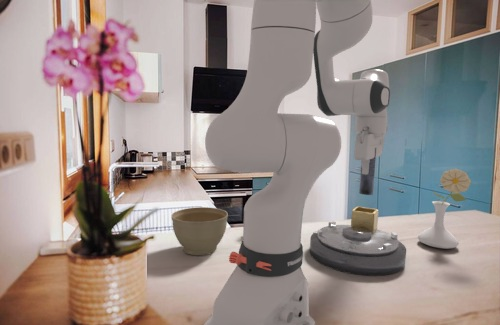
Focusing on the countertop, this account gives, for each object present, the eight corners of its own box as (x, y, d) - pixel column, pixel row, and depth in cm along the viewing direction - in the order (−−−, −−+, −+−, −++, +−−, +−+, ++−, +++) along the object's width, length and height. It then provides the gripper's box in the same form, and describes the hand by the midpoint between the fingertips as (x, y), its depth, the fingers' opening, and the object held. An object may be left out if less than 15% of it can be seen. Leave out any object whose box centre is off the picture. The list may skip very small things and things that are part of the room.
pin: (371, 195, 98) (374, 148, 96) (357, 193, 100) (360, 147, 99) (374, 193, 101) (377, 147, 100) (361, 191, 104) (364, 146, 102)
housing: (396, 285, 78) (397, 267, 77) (295, 259, 92) (295, 243, 91) (411, 251, 100) (412, 237, 99) (327, 234, 114) (328, 221, 113)
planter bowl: (215, 237, 108) (216, 204, 107) (236, 255, 94) (236, 218, 93) (166, 244, 101) (165, 209, 100) (179, 265, 87) (179, 224, 85)
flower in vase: (412, 245, 105) (419, 167, 102) (422, 236, 114) (428, 164, 111) (461, 256, 97) (469, 171, 94) (467, 246, 105) (475, 168, 102)
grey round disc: (390, 263, 80) (392, 233, 79) (305, 243, 92) (306, 217, 91) (404, 237, 99) (406, 213, 98) (332, 224, 111) (333, 202, 110)
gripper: (373, 127, 88) (370, 178, 90) (388, 127, 105) (385, 170, 107) (350, 126, 91) (347, 176, 93) (368, 126, 109) (365, 168, 110)
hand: (367, 173), depth 100 cm, fingers closed on pin, 4 cm apart
